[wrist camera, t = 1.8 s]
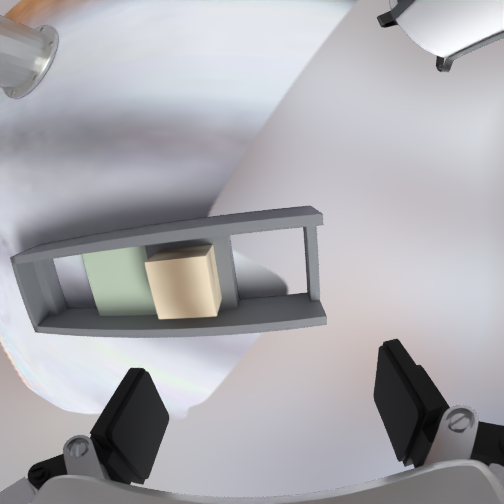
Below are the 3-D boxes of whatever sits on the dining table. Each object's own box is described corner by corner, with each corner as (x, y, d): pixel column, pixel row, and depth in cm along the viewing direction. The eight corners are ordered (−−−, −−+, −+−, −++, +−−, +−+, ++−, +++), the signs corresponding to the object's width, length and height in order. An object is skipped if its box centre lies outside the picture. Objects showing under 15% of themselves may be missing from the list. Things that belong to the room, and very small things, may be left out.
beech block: (170, 302, 30) (158, 319, 26) (158, 250, 29) (144, 262, 25) (222, 298, 30) (216, 316, 26) (212, 244, 28) (205, 255, 25)
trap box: (57, 314, 35) (35, 332, 29) (36, 245, 32) (10, 257, 26) (316, 299, 32) (326, 324, 27) (310, 205, 29) (322, 213, 24)
